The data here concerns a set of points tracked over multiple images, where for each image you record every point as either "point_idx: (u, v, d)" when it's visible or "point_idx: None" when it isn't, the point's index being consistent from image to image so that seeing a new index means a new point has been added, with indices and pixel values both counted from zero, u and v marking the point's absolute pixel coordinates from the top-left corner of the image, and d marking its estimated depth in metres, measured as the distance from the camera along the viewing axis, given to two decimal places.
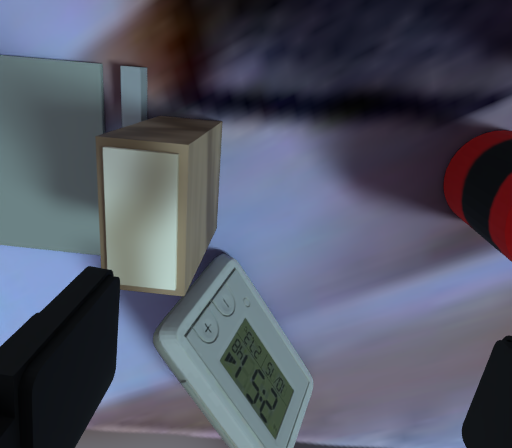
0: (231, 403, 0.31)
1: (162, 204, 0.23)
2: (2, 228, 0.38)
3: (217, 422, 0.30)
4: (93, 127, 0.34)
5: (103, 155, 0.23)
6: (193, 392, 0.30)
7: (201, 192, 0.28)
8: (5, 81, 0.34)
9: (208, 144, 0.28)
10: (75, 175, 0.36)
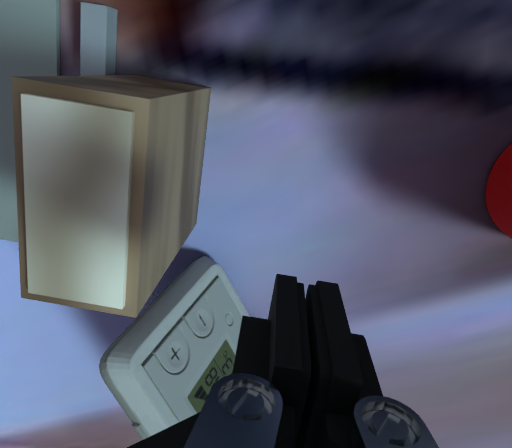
0: None
1: (107, 186, 0.16)
2: None
3: None
4: None
5: (22, 106, 0.15)
6: None
7: (172, 174, 0.20)
8: None
9: (187, 110, 0.21)
10: None
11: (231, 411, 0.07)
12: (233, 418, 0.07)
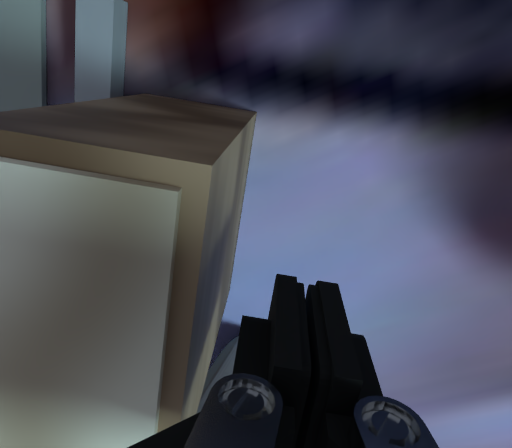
0: None
1: (126, 321, 0.09)
2: None
3: None
4: (25, 105, 0.19)
5: None
6: None
7: (220, 258, 0.13)
8: None
9: (240, 155, 0.14)
10: None
11: (231, 411, 0.07)
12: (233, 418, 0.07)
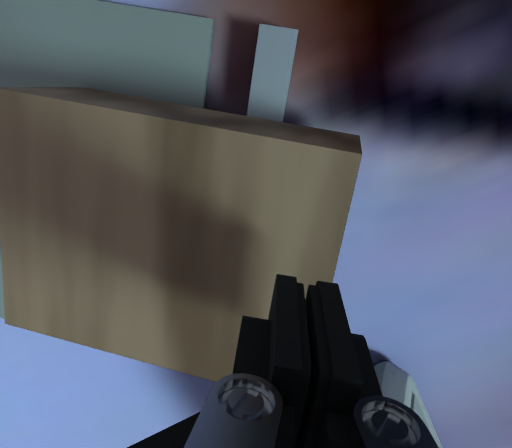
0: None
1: None
2: (1, 292, 0.22)
3: None
4: None
5: None
6: None
7: (107, 220, 0.15)
8: (29, 39, 0.18)
9: (164, 148, 0.13)
10: None
11: (231, 411, 0.07)
12: (233, 418, 0.07)
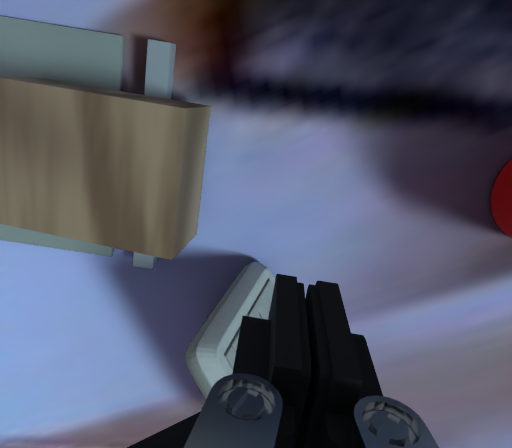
0: None
1: None
2: None
3: None
4: None
5: None
6: None
7: (54, 152, 0.25)
8: (7, 48, 0.29)
9: (84, 108, 0.24)
10: None
11: (231, 411, 0.07)
12: (233, 418, 0.07)
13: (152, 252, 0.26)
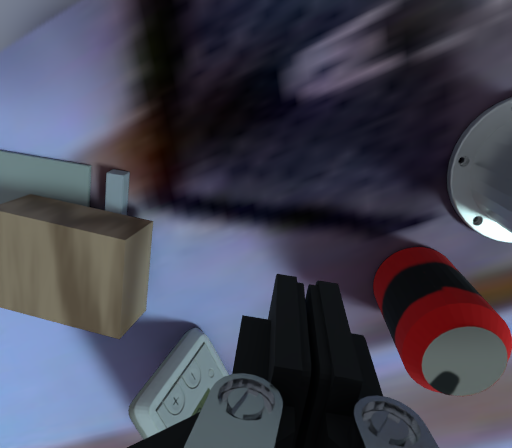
0: None
1: None
2: None
3: None
4: None
5: None
6: None
7: (35, 261, 0.35)
8: (4, 172, 0.39)
9: (55, 234, 0.34)
10: None
11: (231, 411, 0.07)
12: (233, 418, 0.07)
13: (105, 333, 0.36)
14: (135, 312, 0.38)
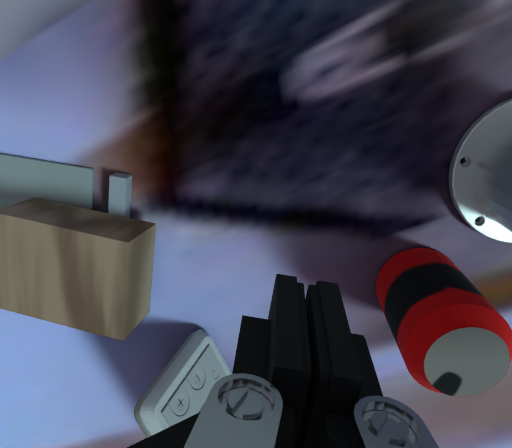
0: None
1: None
2: None
3: None
4: None
5: None
6: None
7: (39, 264, 0.35)
8: (9, 176, 0.39)
9: (59, 237, 0.34)
10: None
11: (231, 411, 0.07)
12: (233, 418, 0.07)
13: (109, 335, 0.36)
14: (139, 314, 0.38)
